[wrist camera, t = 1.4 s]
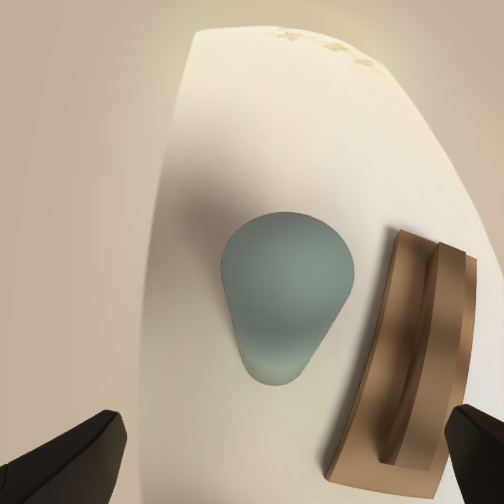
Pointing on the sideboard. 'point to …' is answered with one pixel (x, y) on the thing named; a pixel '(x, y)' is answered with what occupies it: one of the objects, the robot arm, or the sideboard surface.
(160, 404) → the sideboard surface
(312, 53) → the sideboard surface
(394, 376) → the ridge stand
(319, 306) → the dowel
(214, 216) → the sideboard surface
